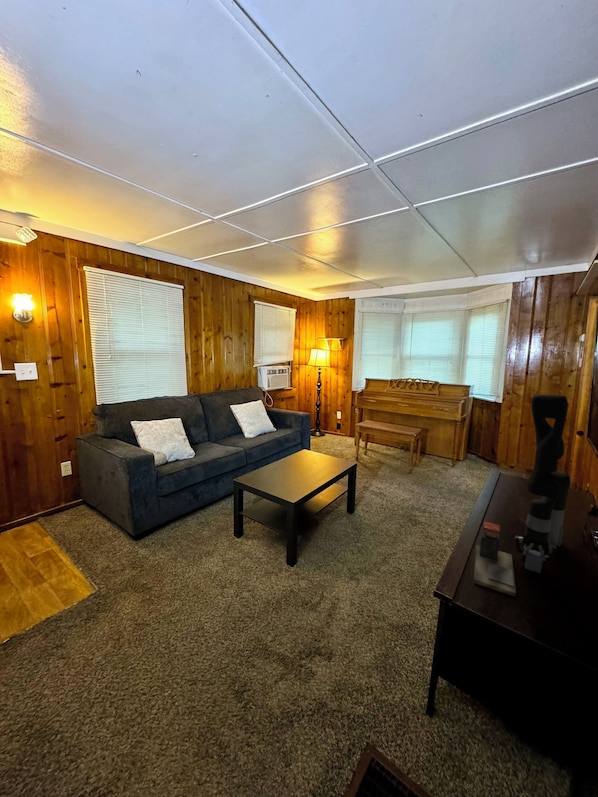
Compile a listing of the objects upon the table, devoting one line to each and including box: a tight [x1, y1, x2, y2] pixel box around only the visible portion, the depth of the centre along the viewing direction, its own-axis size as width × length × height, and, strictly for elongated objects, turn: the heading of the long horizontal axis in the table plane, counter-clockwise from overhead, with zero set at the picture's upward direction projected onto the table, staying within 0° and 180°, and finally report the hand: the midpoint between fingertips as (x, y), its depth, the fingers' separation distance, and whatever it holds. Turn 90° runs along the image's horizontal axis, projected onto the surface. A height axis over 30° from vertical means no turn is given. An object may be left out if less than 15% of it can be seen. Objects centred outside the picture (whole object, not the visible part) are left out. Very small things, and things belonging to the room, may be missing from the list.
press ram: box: [482, 521, 501, 540], centre depth 133 cm, size 6×6×7 cm
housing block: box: [523, 550, 543, 574], centre depth 129 cm, size 5×6×6 cm
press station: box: [473, 529, 517, 598], centre depth 126 cm, size 13×25×10 cm, turn 150°
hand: (532, 564), depth 129 cm, fingers closed on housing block, 5 cm apart
